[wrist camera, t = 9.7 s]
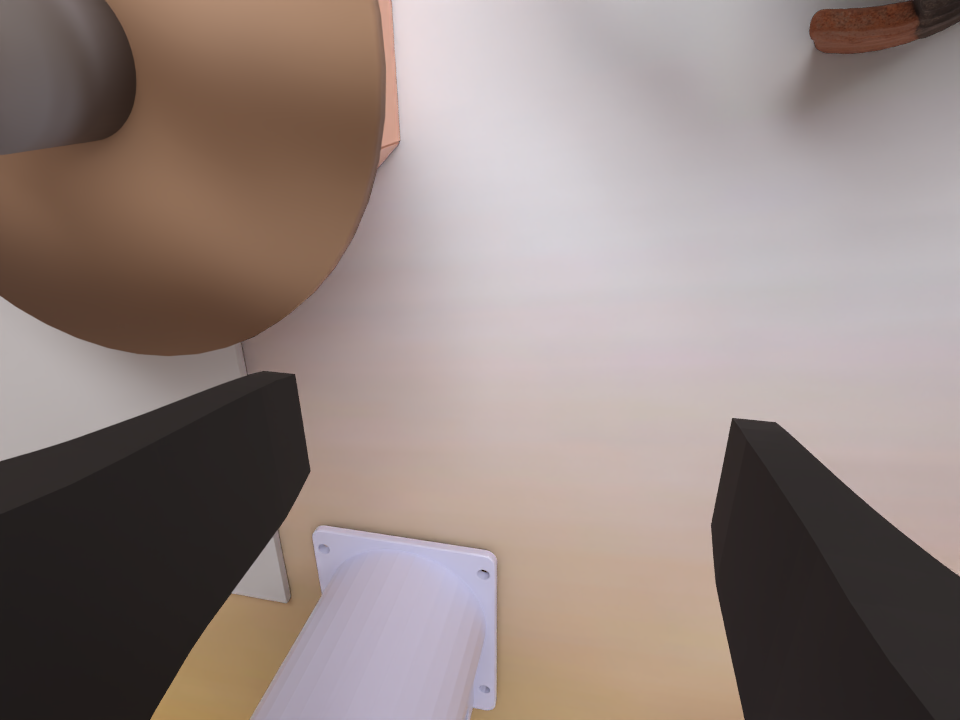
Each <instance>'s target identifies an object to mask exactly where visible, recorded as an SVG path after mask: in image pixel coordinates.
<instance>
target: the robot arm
mask: <svg viewBox="0 0 960 720" xmlns="http://www.w3.org/2000/svg"><path fill="white" fill-rule="evenodd" d="M309 473H310V465H309V459H308V452H307V446H306V440H305V433H304V427H303V421H302V415H301V408H300V402H299V396H298V389H297V383H296V377H295V374H288V373H278V372H268V371H262V372H258V373H254V374H250V375H247V376H243V377H240V378H237V379H234V380H231V381H229V382H226V383H223V384H220V385H218V386H215V387H212V388H209V389H207V390H204V391H202V392H199V393H196V394H194V395H191V396H189V397H186V398H184V399H181V400H178V401H176V402H173V403H171V404H168V405H165V406H163V407H160V408H158V409H155V410H152V411H150V412H147V413H145V414H142V415H139V416H137V417H134V418H131V419H128V420H125V421H123V422H120V423H117V424H114V425H111V426H109V427H106V428H103V429H100V430H97V431H95V432H92V433H89V434H86V435H83V436H81V437H78V438H75V439H72V440H69V441H66V442H63V443H60V444H57V445H53V446H50V447H47V448H44V449H40V450H37V451H34V452H30V453H27V454H23V455H20V456H16V457H13V458H9V459H6V460H2V461H0V720H150V719H151V717H152V715H153V714H154V712H155V710H156V708H157V706H158V705H159V703H160V701H161V700H162V698H163V696H164V695H165V693H166V691H167V690H168V688H169V686H170V685H171V683H172V681H173V679H174V678H175V676H176V674H177V673H178V671H179V669H180V668H181V666H182V664H183V663H184V661H185V659H186V658H187V656H188V654H189V653H190V651H191V649H192V648H193V646H194V645H195V643H196V642H197V641H198V639H199V638H200V636H201V635H202V633H203V632H204V630H205V629H206V627H207V626H208V624H209V623H210V622H211V620H212V619H213V618H214V616H215V615H216V613H217V612H218V611H219V609H220V608H221V607H222V605H223V604H224V603H225V601H226V600H227V598H228V597H229V596H230V594H231V593H232V592H233V590H234V589H235V588H236V586H237V585H238V584H239V582H240V581H241V579H242V578H243V577H244V575H245V574H246V573H247V571H248V570H249V569H250V567H251V566H252V565H253V563H254V562H255V560H256V559H257V558H258V556H259V555H260V554H261V552H262V551H263V549H264V548H265V547H266V545H267V544H268V543H269V541H270V540H271V538H272V537H273V536H274V534H275V533H276V531H277V530H278V529H279V527H280V526H281V524H282V523H283V521H284V520H285V519H286V517H287V515H288V513H289V511H290V510H291V508H292V506H293V504H294V502H295V501H296V499H297V497H298V495H299V493H300V491H301V489H302V487H303V485H304V483H305V481H306V479H307V477H308V475H309ZM711 530H712V544H713V558H714V569H715V580H716V587H717V592H718V597H719V602H720V607H721V612H722V616H723V621H724V626H725V631H726V635H727V640H728V644H729V649H730V654H731V658H732V663H733V668H734V672H735V677H736V681H737V686H738V691H739V695H740V700H741V704H742V709H743V714H744V718H745V720H960V577H959V576H958V575H957V574H955V573H954V572H952V571H951V570H950V569H948V568H947V567H946V566H944V565H943V564H942V563H940V562H939V561H938V560H936V559H935V558H934V557H932V556H931V555H930V554H929V553H927V552H926V551H925V550H924V549H922V548H921V547H920V546H918V545H917V544H916V543H915V542H913V541H912V540H911V539H910V538H908V537H907V536H906V535H904V534H903V533H902V532H901V531H899V530H898V529H897V528H896V527H894V526H893V525H892V524H891V523H889V522H888V521H887V520H886V519H885V518H883V517H882V516H881V515H880V514H879V513H877V512H876V511H875V510H874V509H873V508H872V507H870V506H869V505H868V504H867V503H866V502H865V501H863V500H862V499H861V498H860V497H859V496H858V495H856V494H855V493H854V492H853V491H852V490H851V489H850V488H849V487H847V486H846V485H845V484H844V483H843V482H842V481H841V480H840V479H838V478H837V477H836V476H835V475H834V474H833V473H832V472H831V471H830V470H828V469H827V468H826V467H825V466H824V465H823V464H822V463H821V462H820V461H819V460H818V459H817V458H815V457H814V456H813V455H812V454H811V453H810V452H809V451H808V450H807V449H806V448H805V447H803V446H802V445H801V444H800V443H799V442H798V441H797V440H796V439H795V438H794V437H793V436H791V435H790V434H789V433H788V432H787V431H786V430H785V429H783V428H782V427H781V426H780V425H778V424H777V423H776V422H767V421H757V420H747V419H737V418H732V422H731V427H730V432H729V437H728V442H727V447H726V452H725V457H724V462H723V467H722V473H721V478H720V483H719V488H718V493H717V498H716V503H715V508H714V513H713V518H712V523H711ZM312 539H313V545H314V551H315V557H316V563H317V569H318V575H319V581H320V587H321V593H322V596H321V597H320V599H319V601H318V603H317V604H316V606H315V608H314V609H313V611H312V613H311V615H310V616H309V618H308V620H307V621H306V623H305V625H304V627H303V628H302V630H301V632H300V633H299V635H298V637H297V639H296V640H295V642H294V644H293V646H292V647H291V649H290V651H289V652H288V654H287V656H286V658H285V659H284V661H283V663H282V664H281V666H280V668H279V670H278V671H277V673H276V675H275V676H274V678H273V680H272V682H271V683H270V685H269V687H268V688H267V690H266V692H265V694H264V695H263V697H262V699H261V700H260V702H259V704H258V706H257V707H256V709H255V711H254V712H253V714H252V716H251V718H250V719H249V720H470V717H471V713H472V709H473V708H477V709H482V710H492V709H493V708H495V705H496V700H497V559H496V556H495V555H494V554H493V553H491V552H490V551H487V550H483V549H476V548H470V547H463V546H457V545H450V544H444V543H437V542H430V541H424V540H417V539H411V538H404V537H398V536H391V535H385V534H378V533H371V532H365V531H358V530H352V529H345V528H339V527H332V526H326V525H321V526H318V527H317V528H316V530H315V531H314V533H313V534H312ZM325 545H326V546H328V547H326V546H325ZM481 570H485V571H487V572H483V571H481Z"/></svg>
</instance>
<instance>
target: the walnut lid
mask: <svg viewBox="0 0 960 720" xmlns="http://www.w3.org/2000/svg"><path fill="white" fill-rule="evenodd" d="M385 105H386V61H385V51H384V40H383V30H382V19H381V12H380V8H379V3H378V0H0V296H1V297H2V298H4V299H5V300H7V301H8V302H10V303H11V304H12V305H14V306H15V307H17V308H19V309H20V310H22V311H24V312H26V313H27V314H29V315H31V316H33V317H34V318H36V319H38V320H40V321H41V322H43V323H45V324H47V325H49V326H51V327H53V328H56V329H58V330H60V331H62V332H64V333H67V334H69V335H71V336H73V337H76V338H78V339H81V340H84V341H87V342H91V343H94V344H97V345H100V346H103V347H106V348H110V349H115V350H120V351H125V352H130V353H135V354H143V355H157V356H179V355H193V354H201V353H205V352H210V351H214V350H218V349H223V348H227V347H229V346H232V345H234V344H237V343H239V342H242V341H244V340H247V339H249V338H252V337H254V336H256V335H257V334H259V333H261V332H262V331H264V330H266V329H267V328H269V327H271V326H272V325H274V324H275V323H277V322H279V321H280V320H282V319H283V318H284V317H286V316H287V315H288V314H290V313H291V312H292V311H293V310H295V309H296V308H297V307H298V306H299V305H300V304H302V303H303V302H304V301H305V300H306V299H307V298H308V297H310V296H311V295H312V294H313V293H314V292H315V291H316V290H317V289H318V287H319V286H320V285H321V284H322V283H323V281H324V280H325V279H326V278H327V277H328V276H329V274H330V273H331V272H332V271H333V270H334V268H335V267H336V265H337V264H338V262H339V261H340V259H341V257H342V256H343V254H344V252H345V251H346V249H347V247H348V246H349V244H350V242H351V241H352V239H353V237H354V235H355V233H356V230H357V228H358V226H359V223H360V221H361V218H362V216H363V214H364V211H365V209H366V206H367V204H368V202H369V198H370V194H371V190H372V187H373V183H374V179H375V176H376V172H377V168H378V164H379V159H380V152H381V145H382V137H383V130H384V123H385Z"/></svg>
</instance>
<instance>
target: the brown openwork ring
mask: <svg viewBox="0 0 960 720" xmlns="http://www.w3.org/2000/svg"><path fill="white" fill-rule="evenodd" d="M959 21H960V0H912V1H907V2H901V3H895V4H888V5H884V6H875V7H867V8H848V9H823V10H820V11H818V12H817V13H816V14H815V15H814V16H813V18H812V20H811V23H810V29H809V34H810V37H811V39H812V40H814V44H815V47H816V48H817V49H818V50H819V51H822V52H825V53H841V54H853V53H863V52H870V51H877V50H882V49H887V48H891V47H895V46H898V45H902V44H906V43H909V42H911V41H914V40H917V39H920V38H926V37H928V36H931V35H933V34H935V33H937V32H940V31H942V30H944V29H946V28H948V27H950V26H952V25H954V24H956V23H957V22H959Z"/></svg>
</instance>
